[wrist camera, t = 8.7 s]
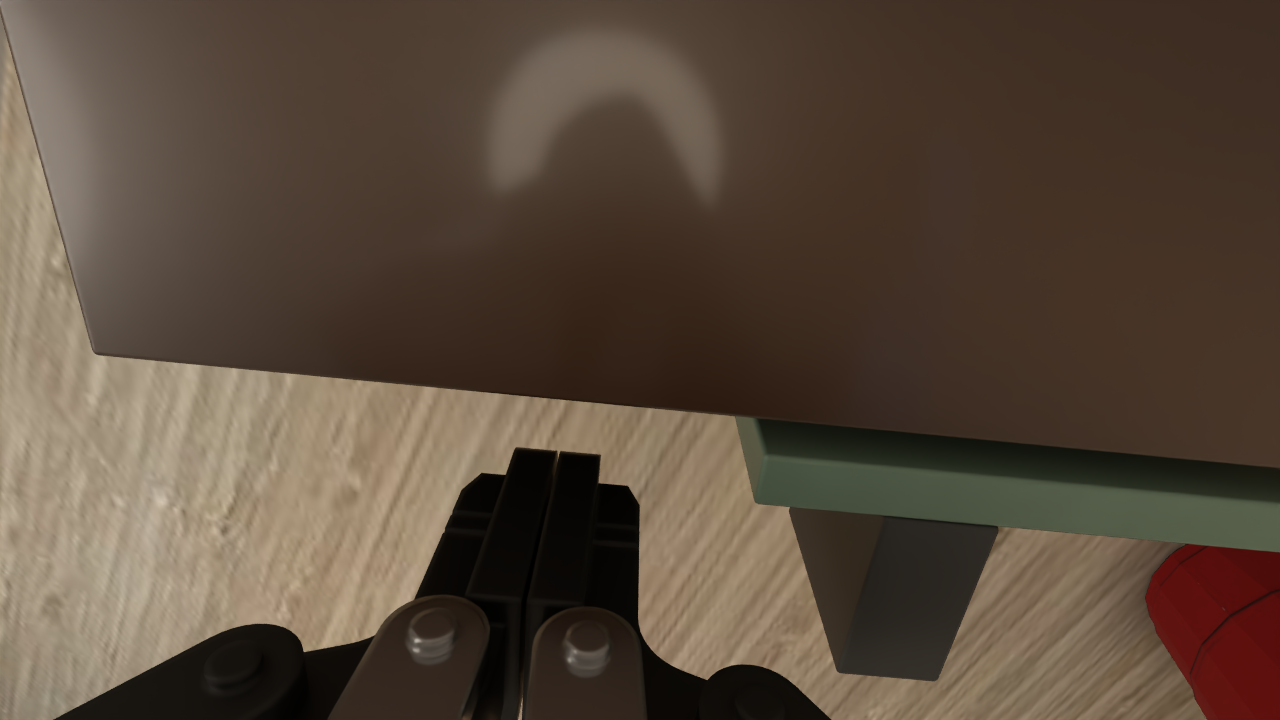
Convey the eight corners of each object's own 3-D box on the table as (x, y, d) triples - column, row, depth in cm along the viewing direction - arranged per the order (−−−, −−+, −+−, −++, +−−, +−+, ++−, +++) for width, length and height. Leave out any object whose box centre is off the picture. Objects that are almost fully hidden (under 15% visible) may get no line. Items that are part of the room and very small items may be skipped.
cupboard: (998, 295, 20) (1427, 586, 9) (422, 236, 20) (120, 465, 9) (1193, -271, 15) (2950, -1353, 3) (397, -370, 14) (-553, -1968, 3)
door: (981, 392, 20) (1302, 715, 10) (686, 363, 20) (720, 664, 10) (1023, 274, 19) (1450, 520, 9) (704, 241, 18) (764, 455, 8)
